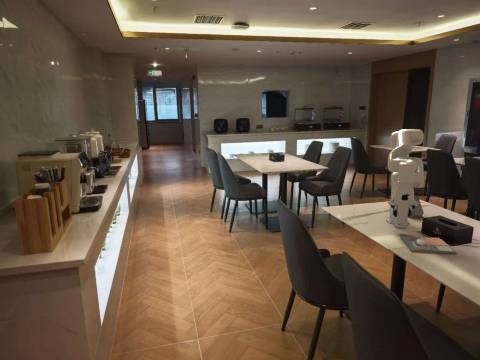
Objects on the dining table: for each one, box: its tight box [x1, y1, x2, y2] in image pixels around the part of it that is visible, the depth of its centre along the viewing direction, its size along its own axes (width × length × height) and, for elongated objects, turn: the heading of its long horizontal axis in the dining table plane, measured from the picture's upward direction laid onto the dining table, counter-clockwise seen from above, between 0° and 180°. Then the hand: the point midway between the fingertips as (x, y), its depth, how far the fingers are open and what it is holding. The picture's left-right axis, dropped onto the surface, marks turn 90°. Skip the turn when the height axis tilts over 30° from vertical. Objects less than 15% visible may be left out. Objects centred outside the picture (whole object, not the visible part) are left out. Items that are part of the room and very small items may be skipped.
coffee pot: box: [410, 195, 425, 219], centre depth 221 cm, size 21×12×15 cm, turn 178°
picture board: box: [399, 236, 457, 255], centre depth 170 cm, size 18×20×2 cm
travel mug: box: [393, 194, 410, 231], centre depth 184 cm, size 6×7×20 cm
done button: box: [416, 239, 426, 246], centre depth 166 cm, size 4×4×2 cm
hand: (401, 216), depth 185 cm, fingers closed on travel mug, 6 cm apart
